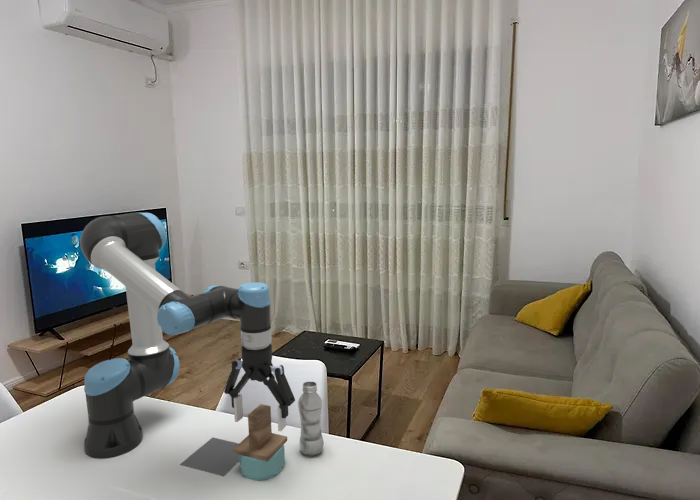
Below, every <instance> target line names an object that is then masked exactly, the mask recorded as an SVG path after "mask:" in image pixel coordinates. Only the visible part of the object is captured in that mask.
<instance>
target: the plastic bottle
mask: <svg viewBox="0 0 700 500" xmlns="http://www.w3.org/2000/svg"><path fill="white" fill-rule="evenodd" d="M317 384H318V383H316V381H305V382H304V383H302V390H301V391H302V393H301V395H300V396H299V398H298V401H297V407H298V413H299V421H300V436H299V450H300V451H301V452H302V454H304V455H306V456H309V457H310V456H311V457H312V456H316V455H318V454H321V452H322V451H323V449H324V437H323V433H322V426H321V425H322V423H321V422H322V421H321V420H322V416H321V415H322V408H323V407H322V406H323V401H322V400H323V399H322V398H321V396H320V395H319V394H318V392H317V391H318V388H317V387H318V385H317Z"/></svg>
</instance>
